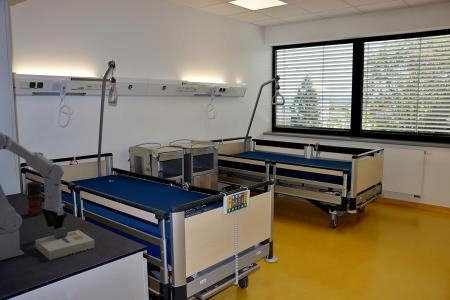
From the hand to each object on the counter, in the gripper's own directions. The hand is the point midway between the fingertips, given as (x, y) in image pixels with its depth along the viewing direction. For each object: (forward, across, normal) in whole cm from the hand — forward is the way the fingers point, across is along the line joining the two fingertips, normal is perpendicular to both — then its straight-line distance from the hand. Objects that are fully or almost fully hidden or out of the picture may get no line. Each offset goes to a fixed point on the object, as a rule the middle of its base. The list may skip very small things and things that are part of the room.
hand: (54, 228), depth 145 cm
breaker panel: (+4, -10, 0) cm, 11 cm away
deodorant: (+5, +39, -5) cm, 39 cm away
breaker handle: (+1, -6, 0) cm, 7 cm away
